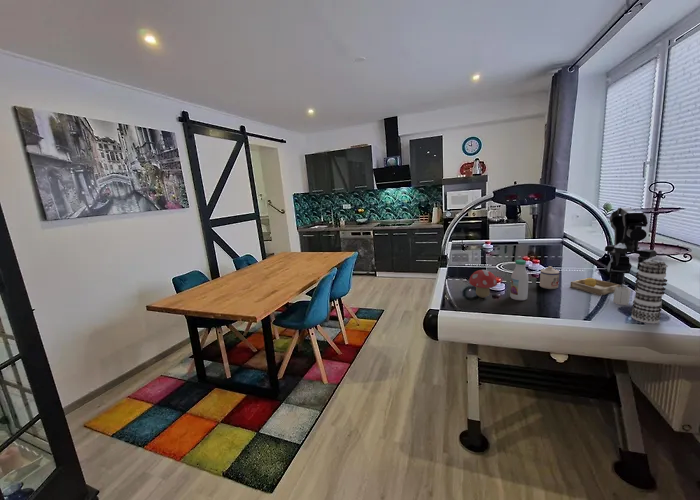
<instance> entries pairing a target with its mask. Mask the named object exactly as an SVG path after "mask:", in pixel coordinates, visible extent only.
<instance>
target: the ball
mask: <svg viewBox="0 0 700 500" xmlns="http://www.w3.org/2000/svg"><path fill="white" fill-rule="evenodd" d="M595 279H596V278H594V277H593V278H592V277H587V279H586V280H585V285H587V286H591V287H594V286H596V284H597V282H596V280H595Z"/></svg>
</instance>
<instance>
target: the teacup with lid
mask: <svg viewBox="0 0 700 500" xmlns="http://www.w3.org/2000/svg"><path fill="white" fill-rule="evenodd" d="M539 273H540V277H539V286H540V287H541V288H543V289H546V290H547V289H548V290H556V289H558V288H559V284H560V270H558V269H555V268H553V266H550V265H549V266H547V267H546V268H542V269H541V270H540V271H539Z"/></svg>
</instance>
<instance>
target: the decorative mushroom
mask: <svg viewBox="0 0 700 500" xmlns="http://www.w3.org/2000/svg"><path fill="white" fill-rule="evenodd" d="M468 281H469V284H470V285H471V286H472V287H475V294H476V296H477V297H479V298H481V299H482V298H483V299H484V298H486V297H488V296H490V293H491V292H490V289H491V288H494V287H496V286H497V285H498V281H497V278H496V276H495V274H494V273H493V272H491V271H489V270H486V269H479V270H478V269H477V270H476V271H474V272H473V273H472V274H471V275H470V277H469V280H468Z"/></svg>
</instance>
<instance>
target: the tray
mask: <svg viewBox="0 0 700 500" xmlns="http://www.w3.org/2000/svg"><path fill="white" fill-rule="evenodd" d="M587 278H588V277H587ZM587 278H582V279H577V280H572V281H570V285H569V287H570V288H573V289H575V290H576V289H577V290H579V291H584V292H588V293H591V294H595V295H597V296H605V295H608V294H611V293H614V291H615V288H616V287H621V285H622V284H621V285H619V284H614V283H610V282H607V280H606V281H605V280H601V279H597V278H594V279H595V280H596V282H597V284H596V286H594V287H591V286H587V285H585V280H586V279H587Z"/></svg>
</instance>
